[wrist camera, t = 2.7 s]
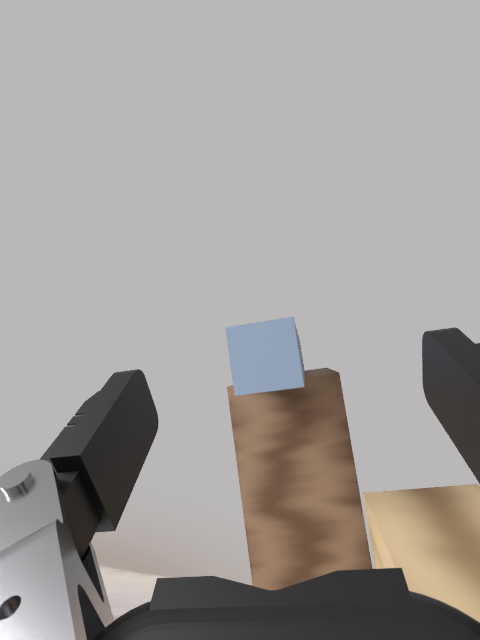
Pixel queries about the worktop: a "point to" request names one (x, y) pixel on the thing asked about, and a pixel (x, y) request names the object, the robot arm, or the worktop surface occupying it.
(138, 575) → the worktop surface
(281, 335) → the light blue bar
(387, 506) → the step
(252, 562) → the brown wooden block
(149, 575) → the worktop surface
